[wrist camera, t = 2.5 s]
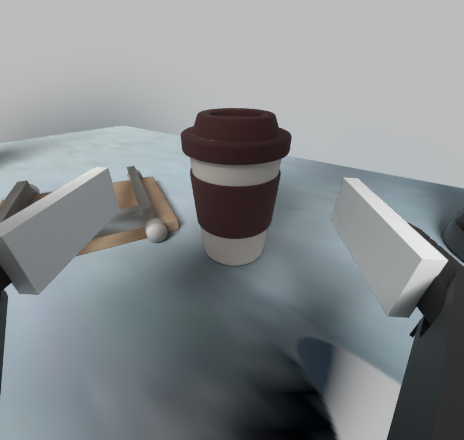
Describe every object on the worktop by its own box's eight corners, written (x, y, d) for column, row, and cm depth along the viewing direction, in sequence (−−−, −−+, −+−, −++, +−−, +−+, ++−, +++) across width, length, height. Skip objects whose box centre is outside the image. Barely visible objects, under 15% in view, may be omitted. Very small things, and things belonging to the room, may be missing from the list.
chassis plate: (152, 180, 45) (148, 160, 43) (183, 237, 29) (179, 210, 27) (11, 203, 37) (-3, 179, 35) (-52, 301, 21) (-83, 269, 19)
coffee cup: (242, 217, 34) (246, 104, 26) (292, 254, 27) (320, 115, 19) (179, 240, 29) (160, 109, 21) (221, 291, 22) (218, 127, 14)
